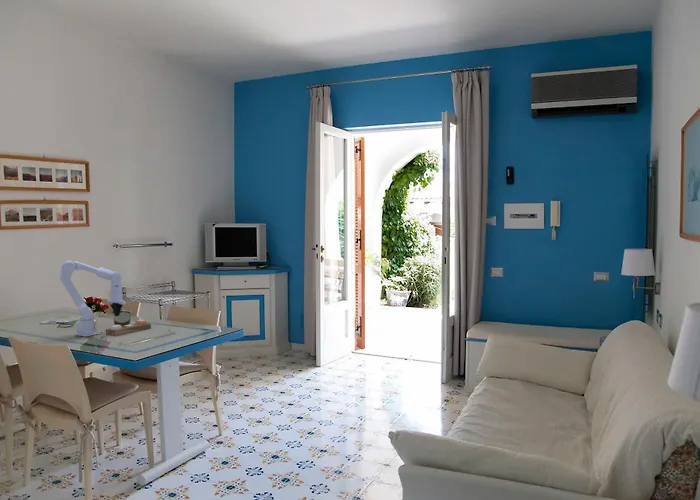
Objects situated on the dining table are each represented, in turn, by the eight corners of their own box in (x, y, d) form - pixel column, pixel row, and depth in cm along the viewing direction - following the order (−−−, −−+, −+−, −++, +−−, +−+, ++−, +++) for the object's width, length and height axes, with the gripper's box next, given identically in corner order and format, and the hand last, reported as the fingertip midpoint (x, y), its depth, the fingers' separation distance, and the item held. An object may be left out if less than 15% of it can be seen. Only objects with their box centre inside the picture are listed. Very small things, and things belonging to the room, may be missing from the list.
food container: (136, 324, 354) (135, 308, 354) (131, 326, 348) (130, 310, 348) (117, 324, 356) (116, 308, 355) (112, 326, 349) (111, 310, 349)
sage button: (123, 331, 333) (123, 325, 333) (129, 330, 337) (129, 324, 336) (128, 332, 331) (128, 326, 331) (134, 330, 335) (133, 325, 334)
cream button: (111, 331, 326) (110, 325, 326) (117, 330, 329) (116, 324, 329) (115, 332, 324) (115, 326, 324) (121, 331, 327) (121, 325, 327)
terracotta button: (136, 326, 340) (135, 320, 340) (141, 325, 344) (141, 319, 344) (140, 327, 338) (140, 321, 338) (146, 325, 342) (145, 320, 341)
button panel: (106, 334, 326) (105, 329, 326) (141, 326, 346) (141, 322, 346) (115, 336, 321) (115, 330, 321) (151, 328, 342) (150, 323, 341)
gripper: (130, 292, 331) (130, 315, 332) (114, 291, 339) (115, 313, 340) (119, 294, 325) (120, 317, 326) (103, 292, 333) (104, 315, 334)
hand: (117, 315), depth 333 cm, fingers closed
